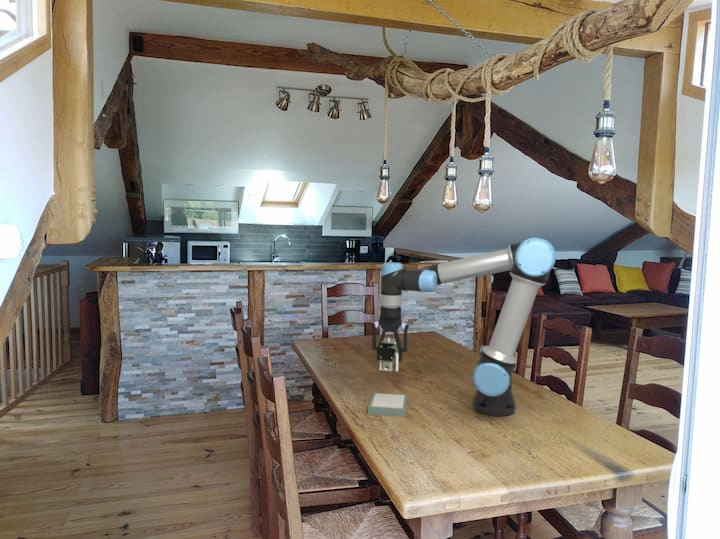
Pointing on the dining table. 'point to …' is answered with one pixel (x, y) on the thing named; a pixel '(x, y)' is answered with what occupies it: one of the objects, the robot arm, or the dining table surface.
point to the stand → (388, 404)
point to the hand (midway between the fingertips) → (389, 369)
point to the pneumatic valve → (388, 353)
